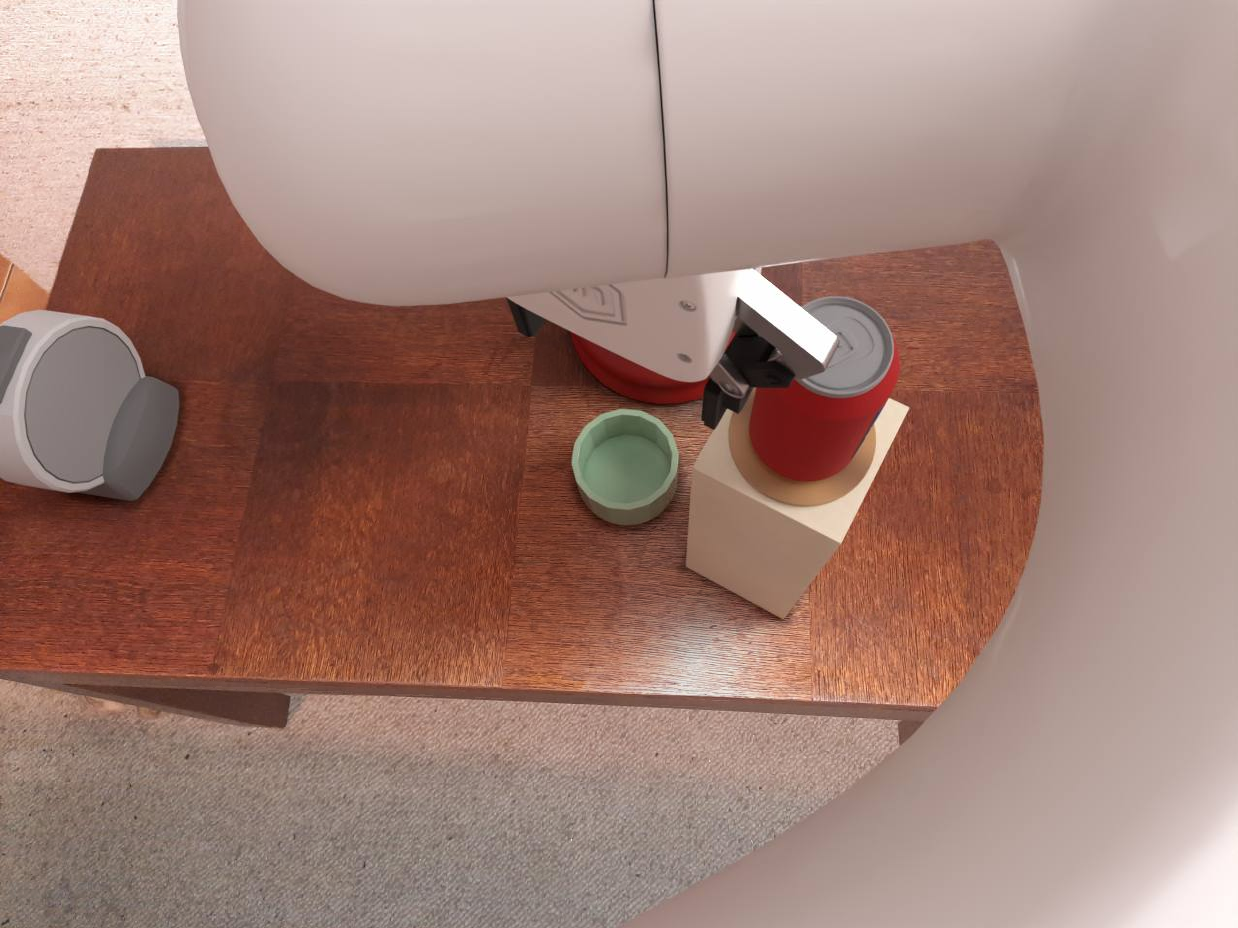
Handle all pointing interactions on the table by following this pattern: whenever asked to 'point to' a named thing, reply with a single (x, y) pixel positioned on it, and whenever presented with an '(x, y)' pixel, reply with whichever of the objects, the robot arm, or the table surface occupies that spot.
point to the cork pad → (788, 488)
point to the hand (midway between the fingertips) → (631, 355)
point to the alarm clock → (80, 407)
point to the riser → (768, 524)
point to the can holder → (626, 466)
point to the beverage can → (828, 396)
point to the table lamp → (635, 376)
